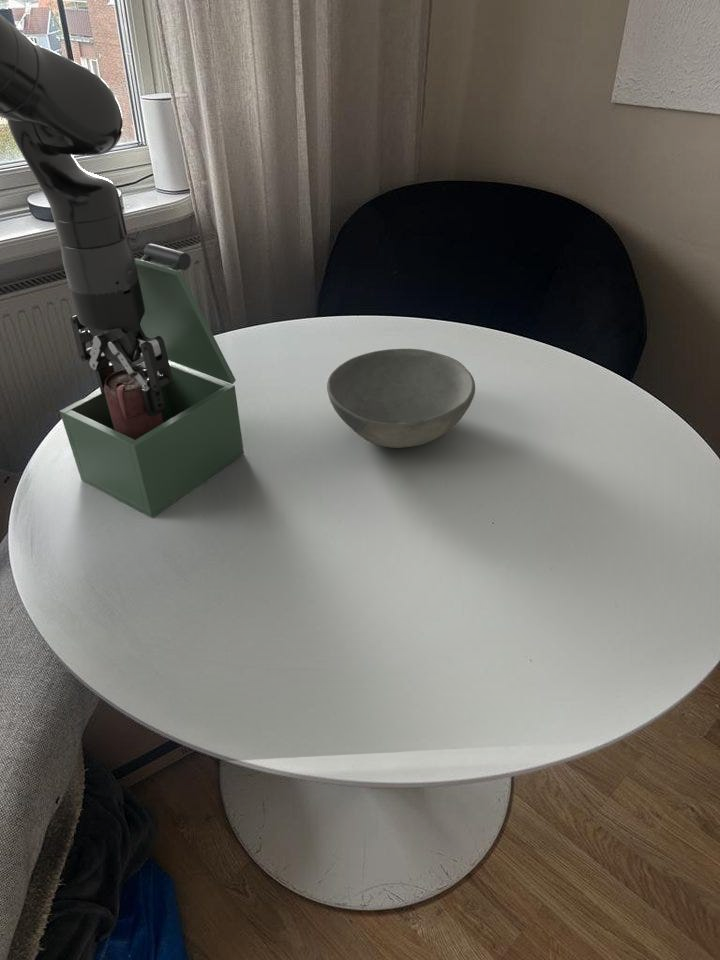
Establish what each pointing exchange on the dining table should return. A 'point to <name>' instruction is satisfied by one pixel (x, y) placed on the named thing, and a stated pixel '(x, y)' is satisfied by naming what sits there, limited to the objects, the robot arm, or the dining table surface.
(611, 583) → the dining table surface
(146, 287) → the lid
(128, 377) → the can
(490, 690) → the dining table surface
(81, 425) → the chest
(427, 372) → the bowl
